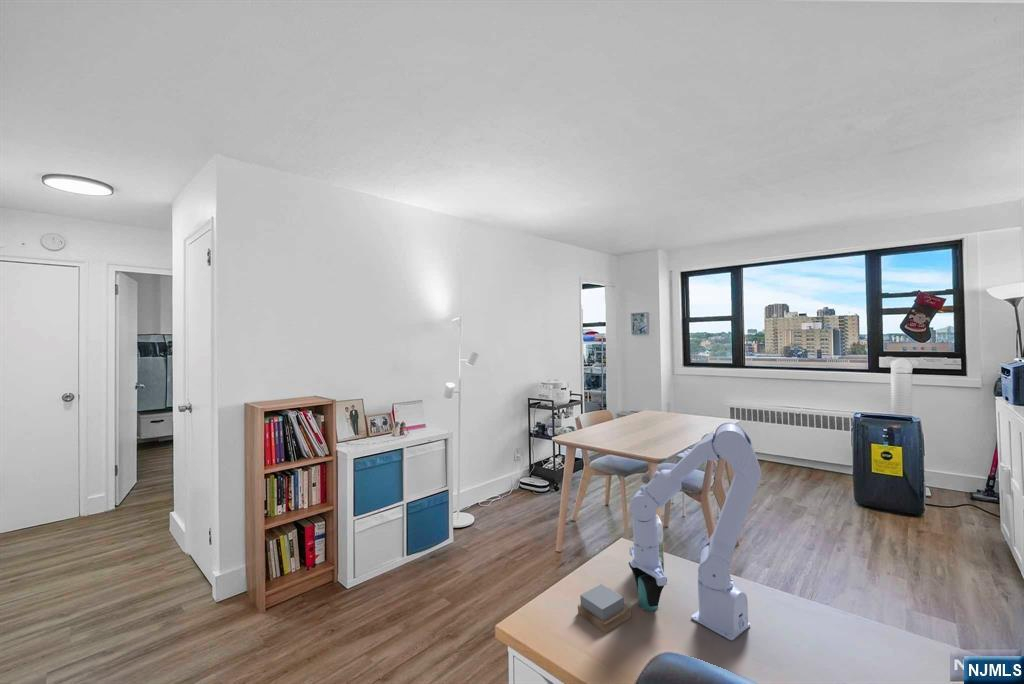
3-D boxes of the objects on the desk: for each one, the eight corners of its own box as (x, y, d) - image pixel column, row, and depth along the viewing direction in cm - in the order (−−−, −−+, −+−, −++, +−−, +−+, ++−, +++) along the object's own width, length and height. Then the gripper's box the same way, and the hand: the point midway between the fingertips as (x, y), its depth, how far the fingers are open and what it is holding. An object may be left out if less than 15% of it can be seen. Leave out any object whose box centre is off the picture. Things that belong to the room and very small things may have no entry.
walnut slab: (631, 619, 99) (630, 608, 99) (605, 635, 94) (605, 624, 94) (603, 601, 106) (602, 591, 106) (578, 616, 101) (577, 605, 101)
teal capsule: (662, 605, 102) (661, 580, 102) (650, 613, 100) (649, 587, 100) (646, 597, 106) (645, 572, 106) (635, 604, 103) (634, 579, 103)
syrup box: (659, 564, 120) (657, 513, 120) (664, 576, 114) (662, 522, 114) (638, 564, 121) (636, 513, 121) (642, 576, 115) (640, 522, 115)
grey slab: (624, 608, 99) (623, 597, 99) (603, 620, 95) (602, 609, 95) (601, 594, 105) (601, 584, 105) (580, 605, 101) (580, 595, 101)
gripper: (617, 531, 109) (619, 584, 109) (644, 559, 95) (647, 621, 95) (643, 527, 110) (645, 580, 111) (674, 555, 96) (676, 616, 96)
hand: (648, 599), depth 103 cm, fingers closed on teal capsule, 4 cm apart
